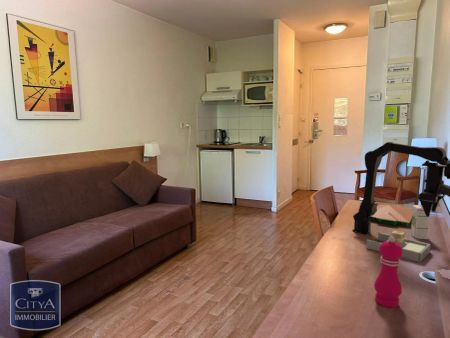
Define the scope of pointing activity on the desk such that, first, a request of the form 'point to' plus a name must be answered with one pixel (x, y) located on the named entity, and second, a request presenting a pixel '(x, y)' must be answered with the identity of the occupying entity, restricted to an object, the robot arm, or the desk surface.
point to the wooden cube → (398, 236)
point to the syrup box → (419, 223)
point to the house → (393, 214)
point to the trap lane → (403, 247)
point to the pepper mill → (389, 274)
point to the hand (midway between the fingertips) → (430, 213)
